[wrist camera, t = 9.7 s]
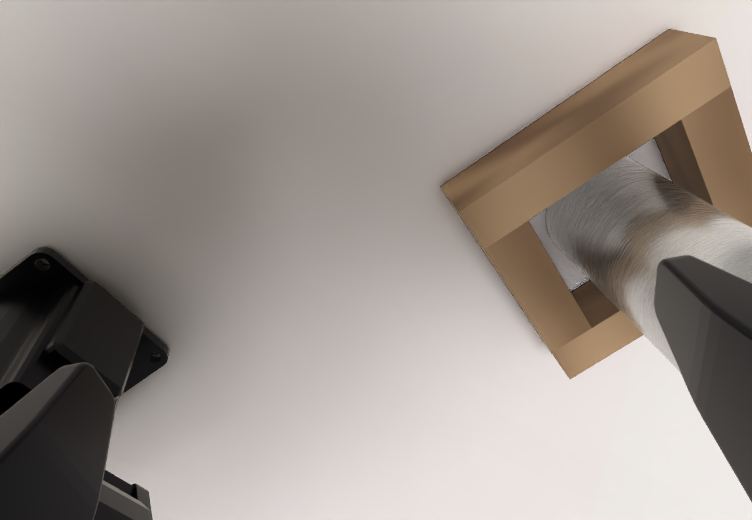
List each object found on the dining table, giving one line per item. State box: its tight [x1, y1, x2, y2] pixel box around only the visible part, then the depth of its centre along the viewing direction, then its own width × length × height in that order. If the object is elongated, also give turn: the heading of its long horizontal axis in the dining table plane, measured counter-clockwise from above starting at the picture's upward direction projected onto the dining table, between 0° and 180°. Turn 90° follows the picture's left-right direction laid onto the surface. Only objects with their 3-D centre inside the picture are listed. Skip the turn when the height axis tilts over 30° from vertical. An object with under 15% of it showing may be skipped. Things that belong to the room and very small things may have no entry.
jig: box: [441, 29, 752, 379], centre depth 23 cm, size 10×10×2 cm
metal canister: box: [546, 157, 752, 371], centre depth 18 cm, size 5×5×13 cm
